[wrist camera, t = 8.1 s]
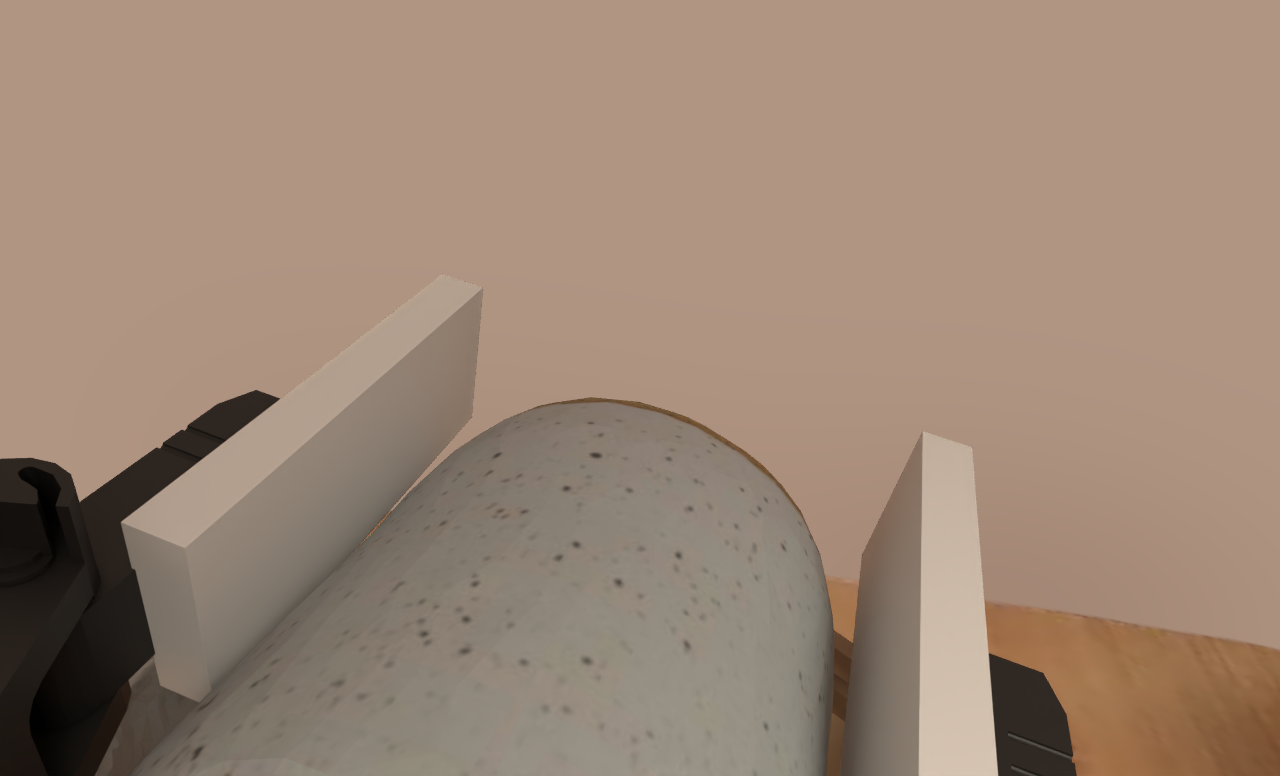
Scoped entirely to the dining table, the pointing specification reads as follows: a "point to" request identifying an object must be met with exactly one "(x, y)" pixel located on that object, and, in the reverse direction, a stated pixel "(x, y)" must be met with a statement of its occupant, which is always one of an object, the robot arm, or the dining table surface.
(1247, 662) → the dining table surface
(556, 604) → the ceramic mug
